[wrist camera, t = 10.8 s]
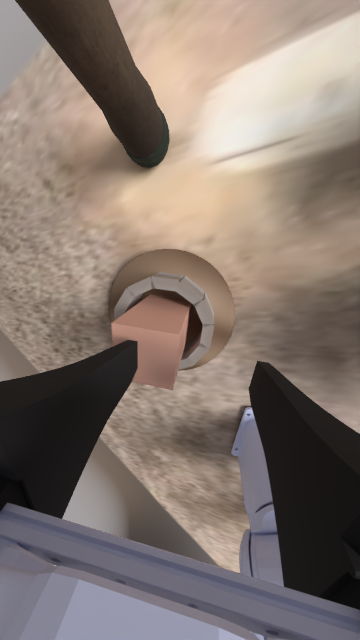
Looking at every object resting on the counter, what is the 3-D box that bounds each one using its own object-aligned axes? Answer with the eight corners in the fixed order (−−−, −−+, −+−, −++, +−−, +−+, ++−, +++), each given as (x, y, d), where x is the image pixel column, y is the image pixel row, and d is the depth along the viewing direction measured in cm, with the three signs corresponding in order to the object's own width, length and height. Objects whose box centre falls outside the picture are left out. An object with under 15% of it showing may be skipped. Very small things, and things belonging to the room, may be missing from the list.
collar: (220, 374, 22) (222, 399, 19) (115, 355, 24) (98, 374, 20) (248, 257, 17) (258, 259, 13) (110, 242, 19) (86, 240, 15)
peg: (186, 338, 20) (172, 390, 13) (148, 332, 21) (113, 377, 13) (191, 300, 18) (179, 334, 11) (150, 294, 19) (111, 323, 12)
